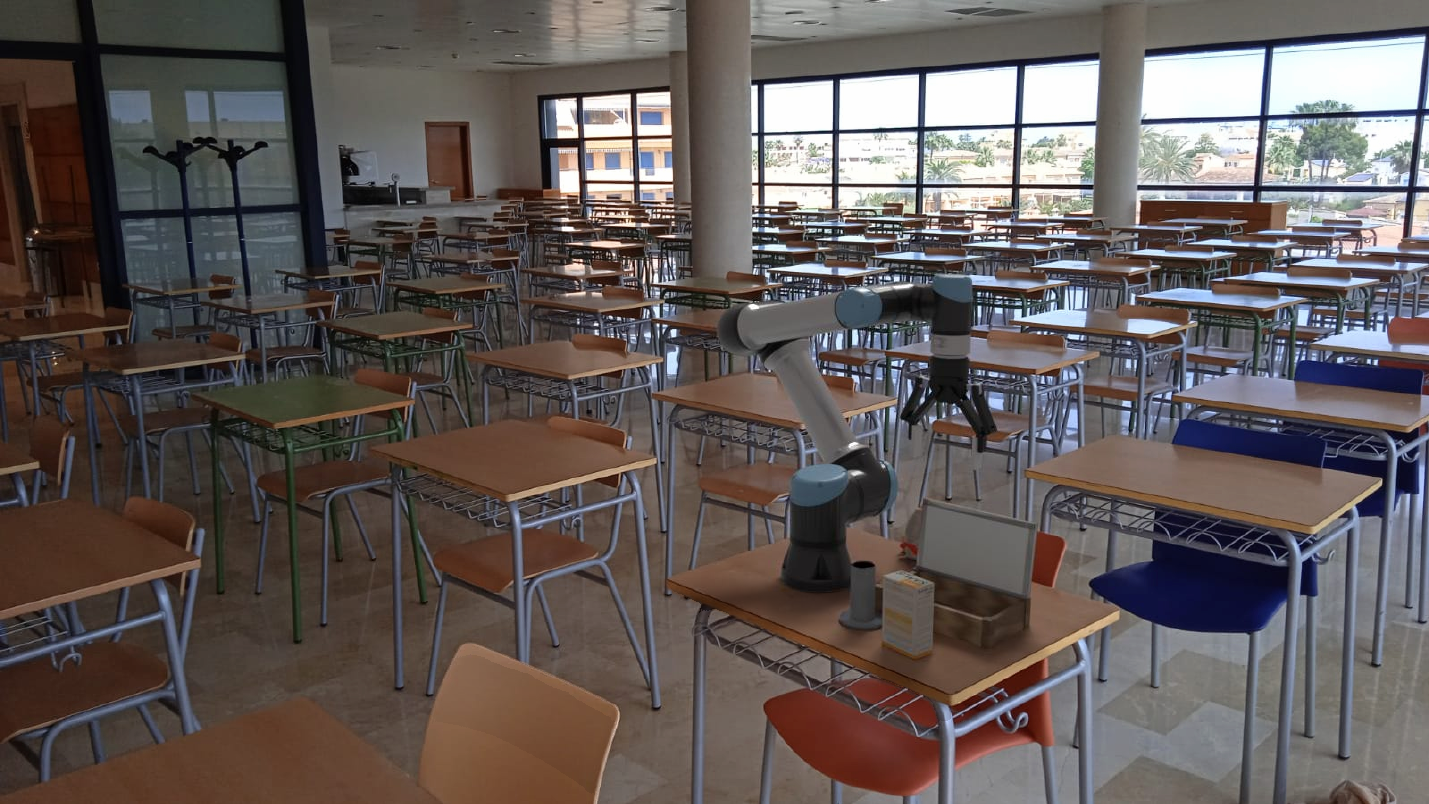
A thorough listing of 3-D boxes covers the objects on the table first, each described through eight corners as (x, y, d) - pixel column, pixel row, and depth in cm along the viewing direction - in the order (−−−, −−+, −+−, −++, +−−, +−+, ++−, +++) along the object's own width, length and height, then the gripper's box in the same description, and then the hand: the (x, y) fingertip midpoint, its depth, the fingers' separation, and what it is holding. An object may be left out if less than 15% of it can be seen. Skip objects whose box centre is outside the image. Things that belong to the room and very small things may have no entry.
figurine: (943, 558, 230) (941, 508, 226) (921, 569, 226) (919, 518, 222) (912, 545, 237) (910, 497, 233) (891, 555, 233) (888, 506, 230)
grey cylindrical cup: (845, 617, 196) (846, 564, 194) (859, 610, 200) (860, 558, 198) (865, 623, 193) (866, 570, 191) (879, 616, 197) (880, 564, 195)
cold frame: (873, 612, 201) (874, 585, 199) (916, 591, 211) (917, 566, 210) (989, 650, 184) (990, 621, 183) (1029, 625, 194) (1030, 598, 193)
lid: (922, 498, 207) (925, 497, 208) (914, 569, 209) (918, 568, 210) (1034, 524, 191) (1038, 523, 192) (1026, 601, 192) (1029, 599, 193)
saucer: (830, 621, 197) (830, 617, 196) (857, 608, 203) (857, 604, 202) (867, 633, 191) (867, 629, 191) (894, 620, 197) (894, 616, 197)
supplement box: (933, 653, 183) (936, 582, 180) (914, 660, 180) (916, 588, 177) (899, 637, 189) (901, 568, 187) (880, 644, 186) (882, 574, 184)
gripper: (884, 351, 208) (881, 455, 212) (998, 364, 191) (993, 477, 195) (906, 347, 213) (903, 448, 217) (1018, 359, 196) (1013, 469, 200)
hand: (945, 462), depth 206 cm, fingers open, 13 cm apart
